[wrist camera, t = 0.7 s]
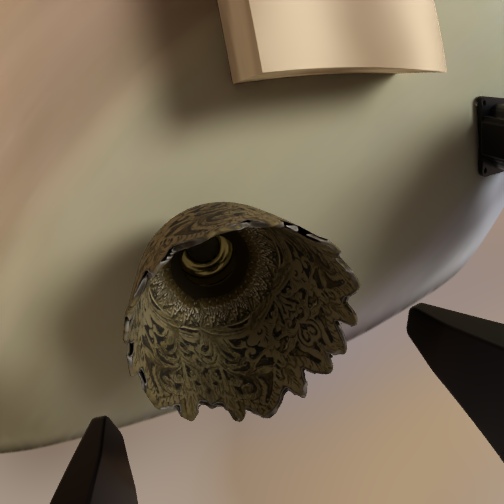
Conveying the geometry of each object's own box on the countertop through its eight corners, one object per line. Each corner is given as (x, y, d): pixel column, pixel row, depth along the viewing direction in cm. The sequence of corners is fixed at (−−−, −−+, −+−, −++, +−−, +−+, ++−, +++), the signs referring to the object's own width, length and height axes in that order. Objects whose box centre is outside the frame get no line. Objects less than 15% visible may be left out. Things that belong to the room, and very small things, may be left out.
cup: (110, 289, 15) (101, 410, 8) (160, 150, 14) (176, 180, 7) (238, 322, 19) (293, 429, 12) (295, 206, 17) (397, 271, 10)
